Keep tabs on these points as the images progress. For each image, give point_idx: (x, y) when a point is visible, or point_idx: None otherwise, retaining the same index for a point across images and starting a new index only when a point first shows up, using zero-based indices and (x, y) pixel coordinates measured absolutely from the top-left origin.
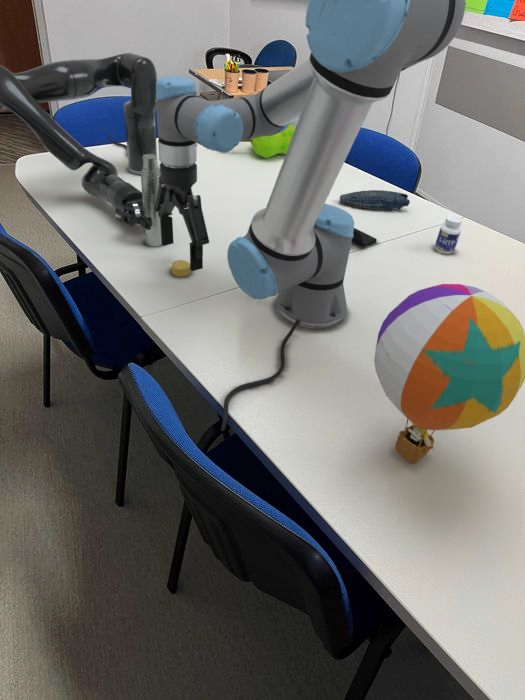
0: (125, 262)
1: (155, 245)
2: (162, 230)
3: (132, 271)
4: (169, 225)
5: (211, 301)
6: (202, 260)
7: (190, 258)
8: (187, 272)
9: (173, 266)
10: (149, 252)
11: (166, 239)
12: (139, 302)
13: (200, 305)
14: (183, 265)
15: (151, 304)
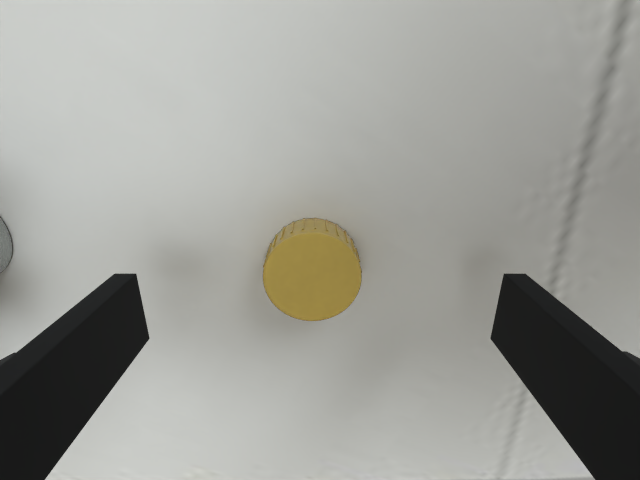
0: (134, 409)
1: (8, 254)
2: (83, 425)
3: (215, 412)
4: (40, 395)
5: (597, 261)
6: (561, 304)
7: (540, 397)
8: (357, 255)
9: (311, 317)
10: (71, 300)
11: (123, 340)
12: (422, 461)
13: (585, 311)
14: (326, 272)
15: (457, 438)
